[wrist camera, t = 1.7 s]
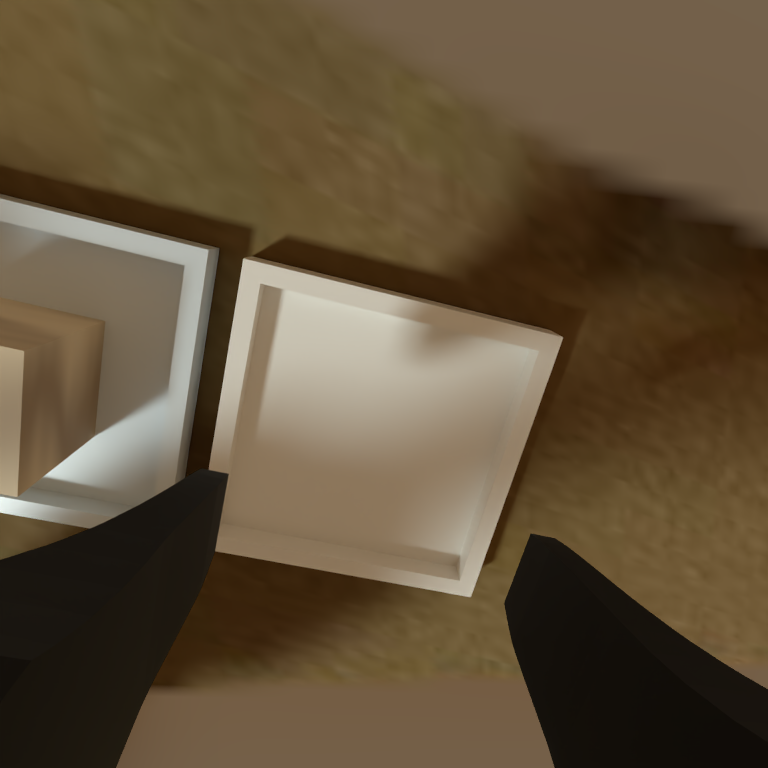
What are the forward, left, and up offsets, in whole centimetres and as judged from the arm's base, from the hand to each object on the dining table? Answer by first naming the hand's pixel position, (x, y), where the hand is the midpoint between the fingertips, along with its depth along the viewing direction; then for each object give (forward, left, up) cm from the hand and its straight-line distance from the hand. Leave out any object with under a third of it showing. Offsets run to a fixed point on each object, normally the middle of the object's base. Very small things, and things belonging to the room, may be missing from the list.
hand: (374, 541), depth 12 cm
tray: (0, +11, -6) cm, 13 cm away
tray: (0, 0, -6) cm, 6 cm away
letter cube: (0, +11, -6) cm, 13 cm away
